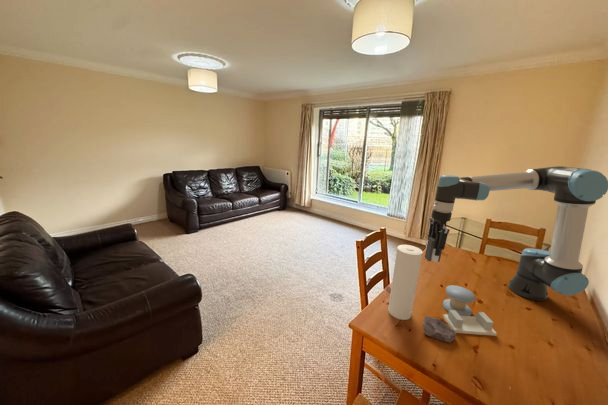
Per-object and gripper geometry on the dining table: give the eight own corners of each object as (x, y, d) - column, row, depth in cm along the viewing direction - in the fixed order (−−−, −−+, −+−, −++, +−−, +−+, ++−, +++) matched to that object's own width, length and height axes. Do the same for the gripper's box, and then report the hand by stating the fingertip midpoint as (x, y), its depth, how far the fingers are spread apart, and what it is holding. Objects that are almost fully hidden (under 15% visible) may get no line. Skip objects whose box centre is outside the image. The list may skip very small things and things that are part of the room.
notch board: (481, 319, 105) (483, 309, 103) (496, 335, 96) (499, 325, 95) (442, 316, 105) (444, 307, 104) (454, 332, 96) (456, 322, 95)
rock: (455, 348, 89) (457, 338, 88) (420, 335, 94) (422, 325, 93) (454, 334, 96) (457, 324, 95) (422, 322, 101) (424, 313, 100)
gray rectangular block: (435, 257, 116) (439, 238, 113) (439, 261, 112) (443, 241, 110) (424, 256, 116) (428, 237, 114) (428, 261, 112) (432, 240, 110)
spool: (462, 302, 116) (465, 286, 114) (476, 318, 105) (481, 301, 103) (438, 300, 116) (441, 284, 114) (450, 316, 106) (454, 299, 103)
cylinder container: (413, 321, 101) (425, 254, 94) (389, 317, 103) (399, 251, 96) (408, 307, 110) (419, 245, 103) (386, 303, 112) (396, 242, 105)
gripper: (425, 204, 117) (416, 250, 122) (442, 215, 100) (431, 267, 106) (441, 206, 116) (432, 251, 122) (461, 217, 100) (449, 269, 106)
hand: (432, 258), depth 114 cm, fingers closed on gray rectangular block, 4 cm apart
